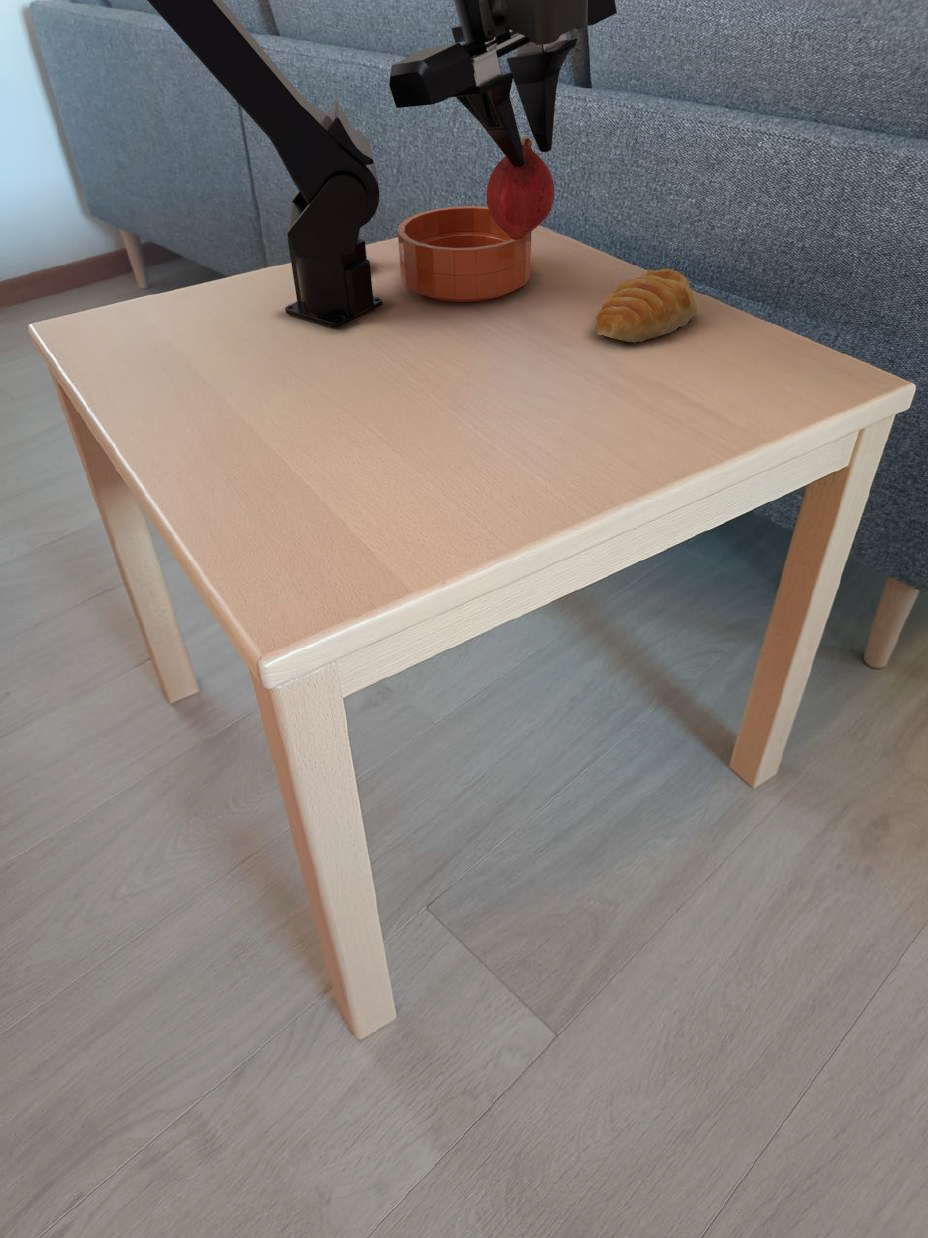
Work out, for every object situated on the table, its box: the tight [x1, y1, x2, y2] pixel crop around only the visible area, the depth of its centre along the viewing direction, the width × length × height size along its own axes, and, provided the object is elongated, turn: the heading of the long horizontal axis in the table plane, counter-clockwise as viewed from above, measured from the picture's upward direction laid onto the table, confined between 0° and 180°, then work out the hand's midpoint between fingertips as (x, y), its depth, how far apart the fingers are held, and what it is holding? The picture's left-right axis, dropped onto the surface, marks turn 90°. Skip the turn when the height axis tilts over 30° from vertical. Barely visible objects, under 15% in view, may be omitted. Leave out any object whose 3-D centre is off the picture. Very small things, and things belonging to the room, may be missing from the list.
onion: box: [486, 136, 555, 240], centre depth 76 cm, size 6×6×8 cm
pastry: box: [595, 268, 699, 344], centre depth 75 cm, size 9×7×4 cm
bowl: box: [397, 205, 532, 303], centre depth 83 cm, size 12×12×5 cm
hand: (532, 158), depth 73 cm, fingers closed on onion, 3 cm apart
